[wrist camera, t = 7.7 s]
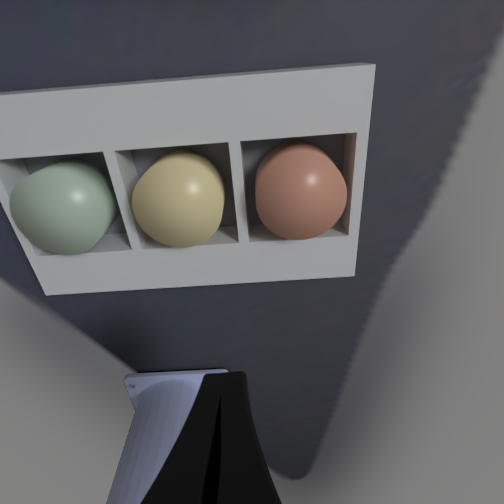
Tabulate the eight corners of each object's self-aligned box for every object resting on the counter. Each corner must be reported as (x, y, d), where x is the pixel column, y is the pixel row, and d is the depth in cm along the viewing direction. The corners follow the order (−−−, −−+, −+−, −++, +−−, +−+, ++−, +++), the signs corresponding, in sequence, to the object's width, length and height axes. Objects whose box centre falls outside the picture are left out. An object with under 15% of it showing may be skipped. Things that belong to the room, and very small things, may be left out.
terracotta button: (333, 215, 18) (343, 237, 16) (257, 220, 18) (258, 242, 16) (337, 137, 16) (350, 151, 14) (252, 144, 16) (252, 158, 14)
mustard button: (229, 222, 18) (227, 244, 16) (155, 227, 18) (143, 250, 16) (220, 146, 16) (216, 161, 14) (137, 153, 16) (121, 168, 14)
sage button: (128, 229, 18) (112, 252, 16) (55, 234, 18) (31, 257, 16) (106, 155, 16) (85, 170, 14) (25, 161, 16) (-8, 177, 14)
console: (342, 251, 20) (354, 276, 18) (67, 269, 21) (45, 295, 19) (357, 62, 15) (375, 64, 13) (-8, 92, 16) (-50, 99, 14)
